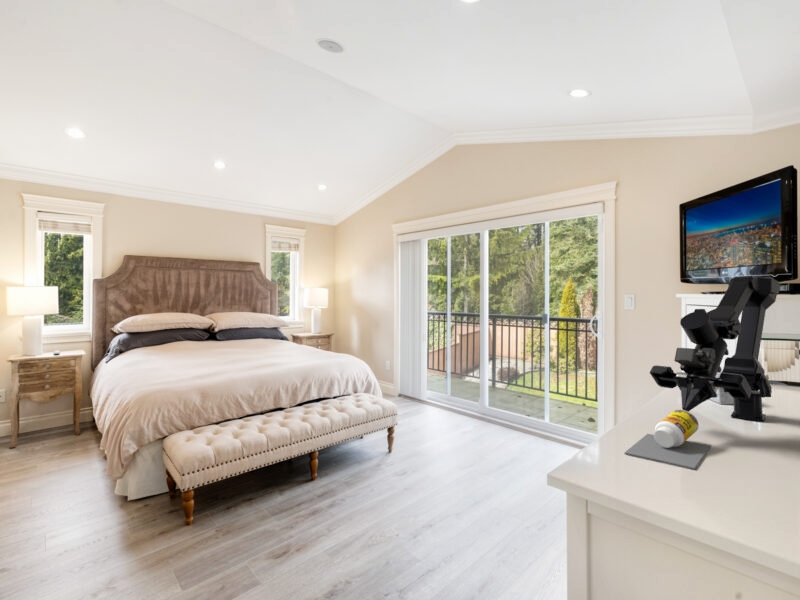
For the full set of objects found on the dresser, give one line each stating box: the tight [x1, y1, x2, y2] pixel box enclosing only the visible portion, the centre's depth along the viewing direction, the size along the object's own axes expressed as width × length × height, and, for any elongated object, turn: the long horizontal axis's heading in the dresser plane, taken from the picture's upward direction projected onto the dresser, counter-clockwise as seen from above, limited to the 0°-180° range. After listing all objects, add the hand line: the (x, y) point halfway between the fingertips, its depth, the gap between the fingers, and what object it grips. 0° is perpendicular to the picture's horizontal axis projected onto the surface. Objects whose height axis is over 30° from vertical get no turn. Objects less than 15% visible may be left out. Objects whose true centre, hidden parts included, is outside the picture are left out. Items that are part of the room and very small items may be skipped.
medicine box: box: [708, 371, 734, 405], centre depth 123 cm, size 8×4×9 cm, turn 168°
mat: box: [624, 433, 712, 471], centre depth 85 cm, size 16×12×1 cm
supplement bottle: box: [653, 409, 700, 448], centre depth 87 cm, size 6×6×10 cm
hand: (684, 410), depth 90 cm, fingers closed
